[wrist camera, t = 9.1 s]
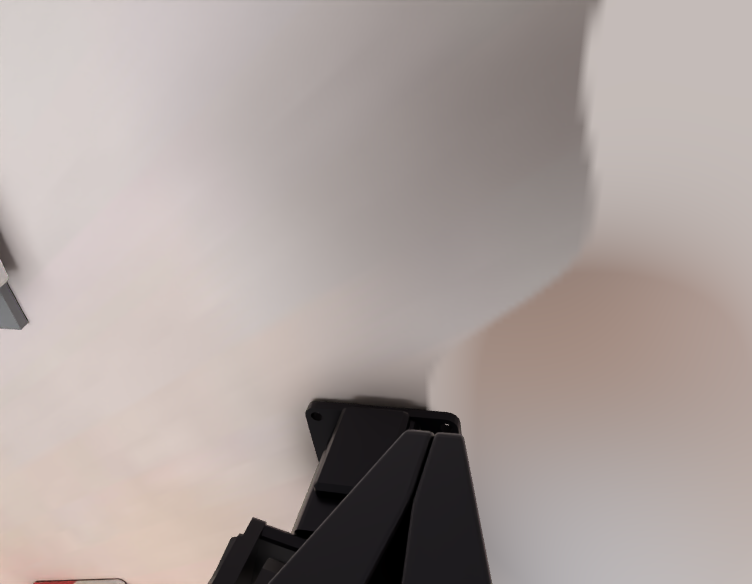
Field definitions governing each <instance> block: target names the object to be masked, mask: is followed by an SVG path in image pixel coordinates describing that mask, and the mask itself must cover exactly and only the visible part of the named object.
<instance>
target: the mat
mask: <svg viewBox="0 0 752 584" xmlns="http://www.w3.org/2000/svg"><path fill="white" fill-rule="evenodd" d="M27 323H28V321H27V319H26V318H25V316H24V314H23V312H22V310H21V308H20V307H19V305H18V303H17V301H16V299H15V297H14V296H13V294H12V292H11V290H10V288H9V286H8V285H7V283H5V284H4V285H3V286H1V287H0V328H1V329H17V330H21V329H22V328H23V327H24V326H25V325H26V324H27Z"/></svg>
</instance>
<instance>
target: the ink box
mask: <svg viewBox="0 0 752 584" xmlns="http://www.w3.org/2000/svg"><path fill="white" fill-rule="evenodd" d="M33 584H125V582H124V581H122V580H119V579H113V580H83V581H52V582H35V583H33Z"/></svg>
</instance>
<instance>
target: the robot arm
mask: <svg viewBox="0 0 752 584" xmlns="http://www.w3.org/2000/svg"><path fill="white" fill-rule="evenodd" d="M305 414H306V419H307V422H308V426H309V430H310V433H311V437H312V440H313V444H314V447H315V451H316V454H317V458H318V461H319V464H318V467H317V469H316V472H315V474H314V477H313V479H312V482H311V484H310V487H309V489H308V492H307V494H306V497H305V499H304V502H303V504H302V507H301V509H300V512H299V514H298V517H297V519H296V522H295V524H294V527H293V529H292V532H291V533H289V532H286V531H283V530H280V529H277V528H275V527H272V526H269V525H266V523H267V522H265V521H263V520H260V519H257V518H254V517H253V518H252V520H251V521H250V523H249V525H248V527H247V529H246V531H245V533H244V534H239V535H238V536H237V537H232V538H231V539H230V541H229V543H228V546H227V548H226V550H225V552H224V554H223V556H222V558H221V560H220V563H219V565H218V567H217V569H216V571H215V572H214V574H213V576H212V578H211V579H210V581H209V582H208V584H492V580H491V576H490V570H489V565H488V561H487V555H486V550H485V544H484V539H483V534H482V529H481V524H480V518H479V514H478V508H477V503H476V498H475V493H474V487H473V482H472V477H471V472H470V467H469V461H468V456H467V452H466V446H465V441H464V437H463V436H462V434H461V425H460V420H459V418H458V417H457V416H456V415H454V414H452V413H448V412H439V411H427V410H415V409H403V408H392V407H380V406H368V405H356V404H345V403H333V402H321V401H313V402H311V403H310V404H309V406H308V408H307V410H306V412H305ZM445 424H448V425H449V426H448V425H445Z"/></svg>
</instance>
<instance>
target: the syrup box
mask: <svg viewBox="0 0 752 584" xmlns="http://www.w3.org/2000/svg"><path fill="white" fill-rule="evenodd" d="M8 279H9V277H8V274H7V273H6V270H5V268H4V266H3V264H2V261H1V260H0V287H1V286H3V285H4V284H5V283H6V282H7V281H8Z"/></svg>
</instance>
